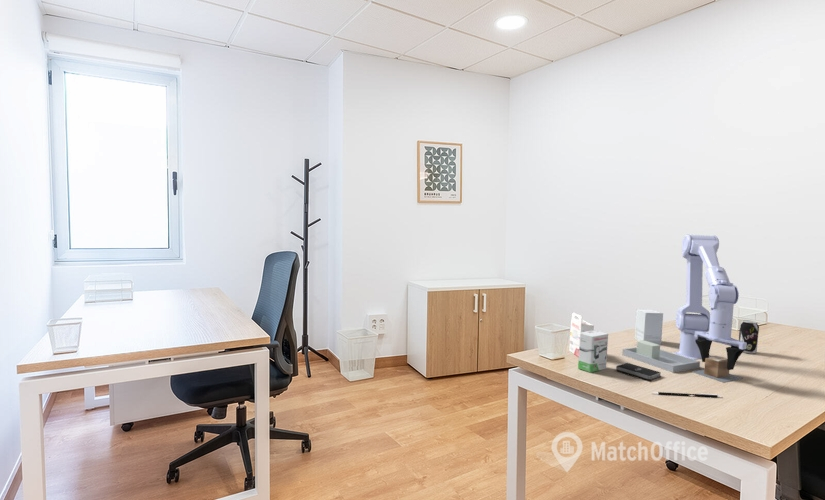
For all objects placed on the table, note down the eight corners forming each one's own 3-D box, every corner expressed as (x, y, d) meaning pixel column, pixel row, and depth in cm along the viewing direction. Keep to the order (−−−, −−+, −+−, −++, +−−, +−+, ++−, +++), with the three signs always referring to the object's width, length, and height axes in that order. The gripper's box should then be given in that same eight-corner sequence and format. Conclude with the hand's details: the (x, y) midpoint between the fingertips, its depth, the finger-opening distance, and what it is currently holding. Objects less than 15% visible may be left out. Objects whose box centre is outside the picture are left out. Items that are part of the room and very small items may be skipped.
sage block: (644, 354, 159) (645, 340, 159) (659, 359, 154) (660, 345, 154) (636, 355, 158) (637, 341, 157) (651, 360, 152) (652, 346, 152)
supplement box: (661, 344, 175) (664, 313, 174) (642, 344, 175) (645, 312, 174) (651, 339, 182) (654, 309, 181) (633, 339, 182) (635, 308, 181)
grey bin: (647, 352, 163) (648, 345, 163) (699, 369, 146) (700, 361, 146) (622, 355, 158) (622, 349, 158) (672, 373, 140) (673, 366, 140)
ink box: (590, 373, 139) (592, 336, 138) (577, 368, 143) (579, 332, 142) (606, 368, 143) (609, 333, 143) (593, 364, 148) (595, 329, 147)
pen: (723, 399, 122) (723, 395, 122) (652, 395, 123) (652, 391, 123) (721, 398, 122) (721, 394, 122) (650, 394, 124) (650, 390, 123)
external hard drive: (649, 383, 132) (650, 376, 132) (614, 372, 141) (615, 366, 141) (661, 378, 137) (661, 372, 136) (626, 368, 145) (626, 362, 145)
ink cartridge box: (592, 358, 154) (595, 316, 153) (579, 358, 154) (581, 316, 153) (581, 350, 163) (583, 311, 162) (568, 350, 162) (570, 311, 161)
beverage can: (740, 353, 166) (743, 321, 165) (735, 349, 171) (738, 318, 170) (759, 355, 164) (761, 323, 163) (753, 351, 169) (756, 320, 168)
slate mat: (710, 369, 146) (710, 367, 146) (743, 379, 137) (743, 378, 137) (690, 372, 142) (690, 371, 142) (723, 383, 133) (723, 382, 133)
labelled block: (704, 373, 140) (705, 357, 139) (715, 371, 142) (717, 355, 142) (717, 377, 136) (718, 361, 136) (728, 375, 139) (730, 359, 138)
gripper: (689, 318, 143) (686, 359, 144) (738, 329, 130) (734, 374, 131) (703, 317, 146) (700, 357, 147) (752, 327, 133) (748, 371, 134)
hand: (717, 365), depth 139 cm, fingers open, 7 cm apart
